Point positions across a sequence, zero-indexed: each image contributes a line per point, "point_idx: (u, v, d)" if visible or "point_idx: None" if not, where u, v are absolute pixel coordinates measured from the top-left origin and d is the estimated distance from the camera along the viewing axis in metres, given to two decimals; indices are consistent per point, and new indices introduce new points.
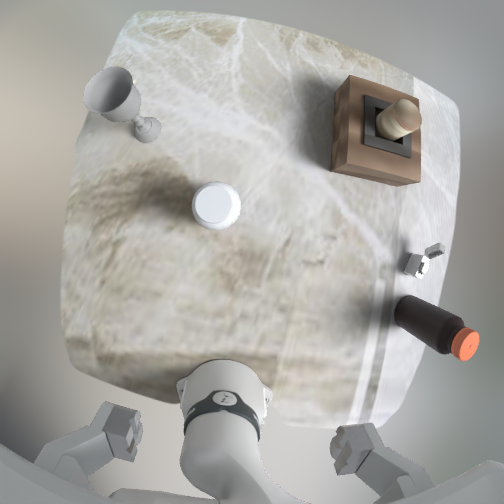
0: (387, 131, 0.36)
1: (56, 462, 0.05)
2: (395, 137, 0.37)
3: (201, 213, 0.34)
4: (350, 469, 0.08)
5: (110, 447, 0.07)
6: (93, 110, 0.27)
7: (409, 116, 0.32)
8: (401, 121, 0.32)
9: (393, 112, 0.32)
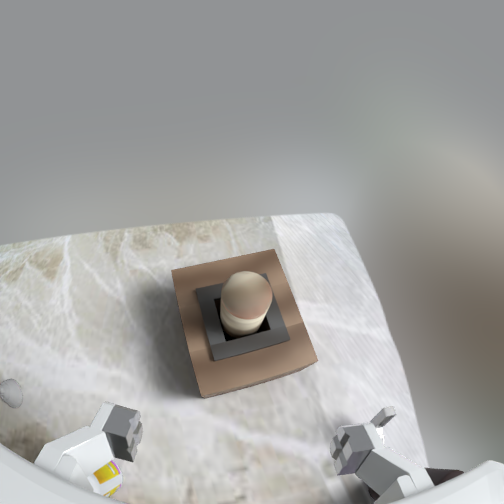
0: (236, 328, 0.29)
1: (56, 462, 0.05)
2: (252, 329, 0.30)
3: None
4: (350, 469, 0.08)
5: (110, 448, 0.07)
6: None
7: (250, 295, 0.27)
8: (238, 312, 0.26)
9: (223, 304, 0.27)
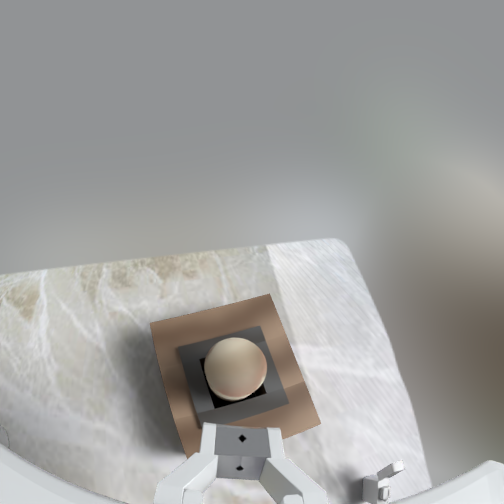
0: (225, 398, 0.23)
1: (179, 501, 0.05)
2: None
3: None
4: (250, 475, 0.08)
5: (216, 469, 0.08)
6: None
7: (239, 368, 0.21)
8: (226, 390, 0.20)
9: (207, 379, 0.21)
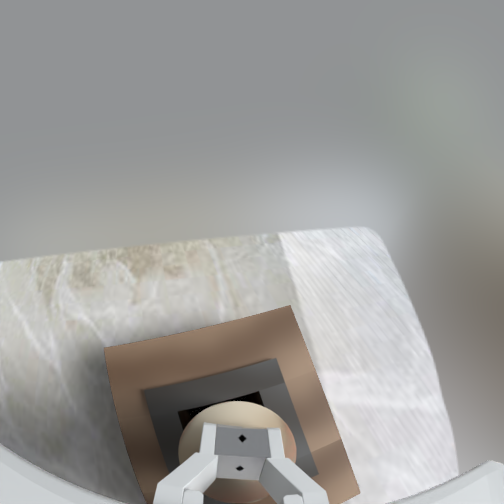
0: None
1: (179, 501, 0.05)
2: None
3: None
4: (250, 475, 0.08)
5: (216, 469, 0.08)
6: None
7: None
8: (220, 494, 0.08)
9: None
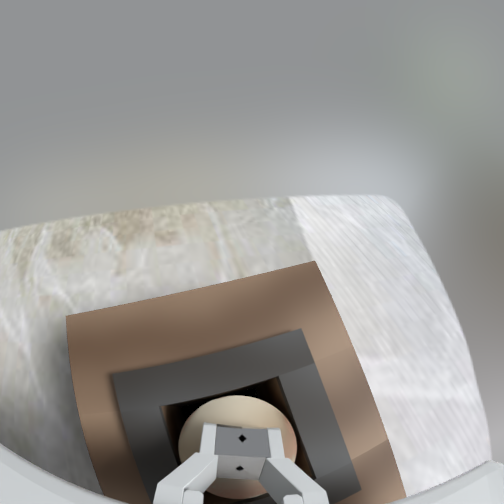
0: None
1: (179, 501, 0.05)
2: None
3: None
4: (250, 475, 0.08)
5: (216, 469, 0.08)
6: None
7: None
8: (220, 489, 0.08)
9: None
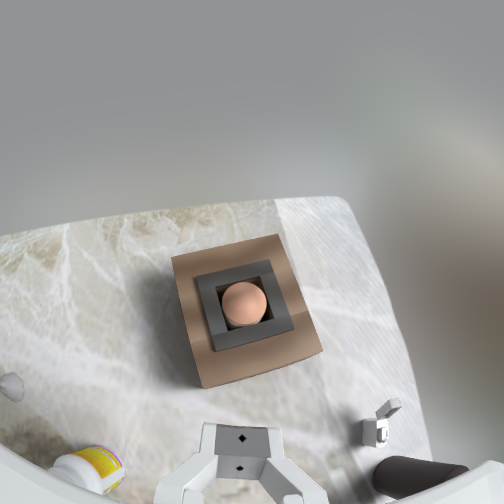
0: None
1: (179, 501, 0.05)
2: None
3: None
4: (250, 475, 0.08)
5: (216, 469, 0.08)
6: None
7: (247, 304, 0.31)
8: (237, 319, 0.30)
9: (223, 312, 0.31)
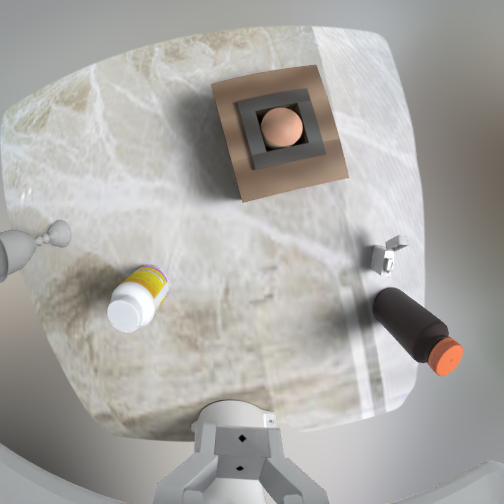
0: (271, 149, 0.36)
1: (179, 501, 0.05)
2: None
3: (118, 327, 0.32)
4: (250, 475, 0.08)
5: (216, 469, 0.08)
6: None
7: (284, 128, 0.32)
8: (275, 141, 0.32)
9: (263, 133, 0.32)
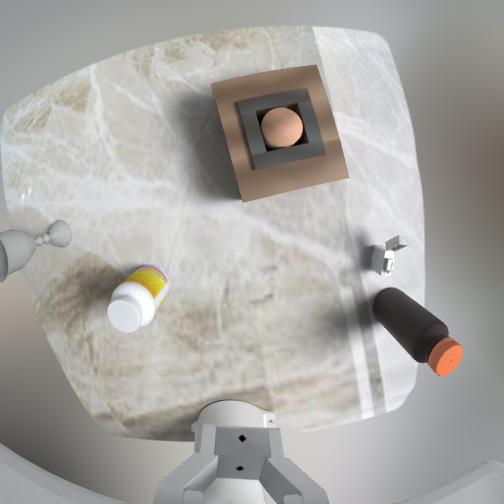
0: (272, 149, 0.36)
1: (179, 501, 0.05)
2: None
3: (118, 327, 0.32)
4: (250, 475, 0.08)
5: (216, 469, 0.08)
6: None
7: (284, 128, 0.32)
8: (275, 141, 0.32)
9: (263, 134, 0.32)
